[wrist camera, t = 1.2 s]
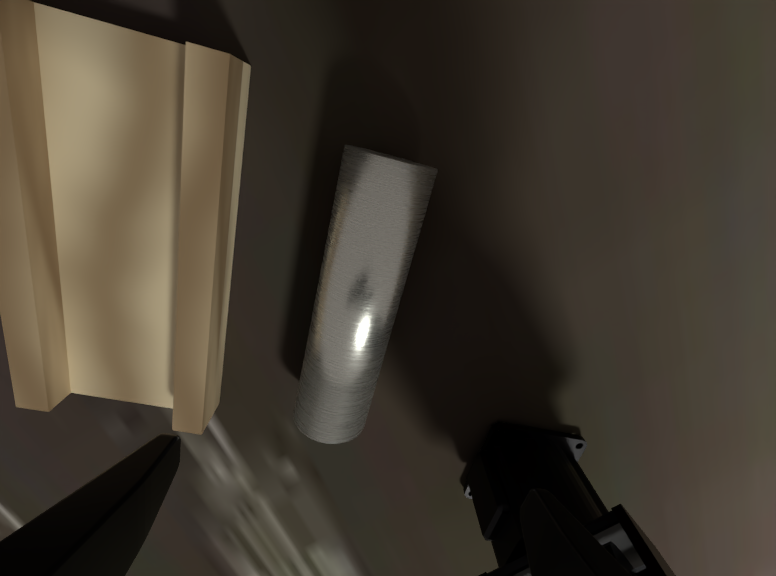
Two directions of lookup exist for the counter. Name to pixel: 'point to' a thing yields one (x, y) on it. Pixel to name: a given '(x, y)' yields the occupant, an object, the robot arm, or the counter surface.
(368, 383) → the axle
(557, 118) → the counter surface
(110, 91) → the cradle
